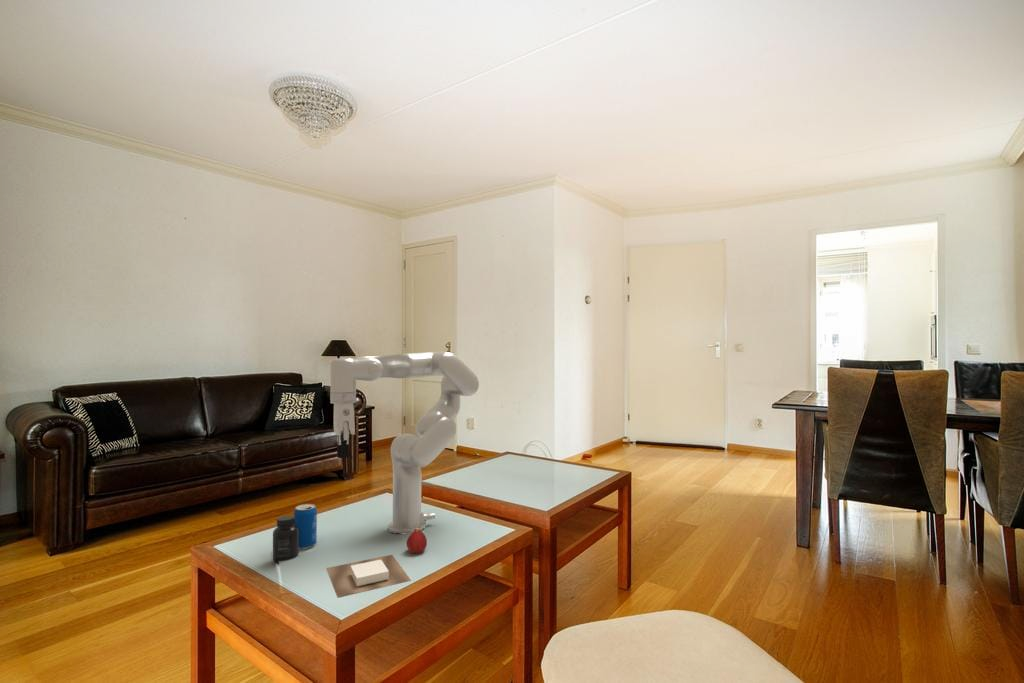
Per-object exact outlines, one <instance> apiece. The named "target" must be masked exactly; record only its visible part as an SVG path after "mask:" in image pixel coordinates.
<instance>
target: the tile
mask: <svg viewBox="0 0 1024 683" xmlns="http://www.w3.org/2000/svg"><path fill="white" fill-rule="evenodd" d="M350 573H351V575H352V578H353V580H354V582H355V584H356V586H361V585H365V584H370V583H374V582H378V581H383V580H387V579H389V571H388V569H387V568H386V566H385V565H384V563H383V562H382V560H376V561H371V562H366V563H361V564H357V565H352V566H351V572H350Z"/></svg>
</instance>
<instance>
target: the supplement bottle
mask: <svg viewBox="0 0 1024 683" xmlns="http://www.w3.org/2000/svg"><path fill="white" fill-rule="evenodd" d="M294 524H295V516H294V515H282V516H280V517H277V519H276V527H275V528H274V529H273V531H272V562H273V563H274V564H276V565H280V562H283V561H285V562H286V561H290V560H293V559H295V558H297V557H299V555H300V552H299V551H300V549H299V528H298V527H297V526H296V525H294Z"/></svg>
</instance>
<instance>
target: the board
mask: <svg viewBox="0 0 1024 683" xmlns="http://www.w3.org/2000/svg"><path fill="white" fill-rule="evenodd" d="M376 560H382V562H383V563H384V565H385V566H386V568H387V569H388V571H389V579H387V580H383V581H378V582H374V583H370V584H365V585H361V586H356V584H355V582H354V580H353V578H352V575H351V573H350V572H351V566H352V565H357V564H361V563H366V562H371V561H376ZM325 569H326V571H327V573H328V574H327V575H328V577H329V579H330V581H331V584H332V587H333V589H334V592H335V594H336V597H337V599H339V598H343V597H348V596H352V595H356V594H361V593H366V592H370V591H372V590H373V591H374V590H377V589H382V588H386V587H391V586H394V585H398V584H404V583H407V582H411V581H412V580H411V578H410V577H409V576H408V574H407V573H406V571H405V570H404V568H403V567H402V566H401V564H400V563H399V561H398V560H397V559H396V558H395V556H394V555H393V554H388V555H384V556H379V557H375V558H374V557H373V558H369V559H364V560H360V561H355V562H349V563H344V564H341V565H334V566H331V567H330V566H329V567H326V568H325Z"/></svg>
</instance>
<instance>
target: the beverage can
mask: <svg viewBox="0 0 1024 683" xmlns="http://www.w3.org/2000/svg"><path fill="white" fill-rule="evenodd" d="M293 516H295V524H294V525H296V526H297V527H298V528H299V550H307V549H310V548H311V549H312V548H313V546H314V545H316V544H317V538H318V537H317V536H318V535H317V533H318V532H317V523H318V521H317V520H318V519H317V518H318V510H317V507H316V504H314V503H313V504H312V503H304V504H303V503H302V504H299V505H297V506H296V507H295V509H294V512H293Z"/></svg>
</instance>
